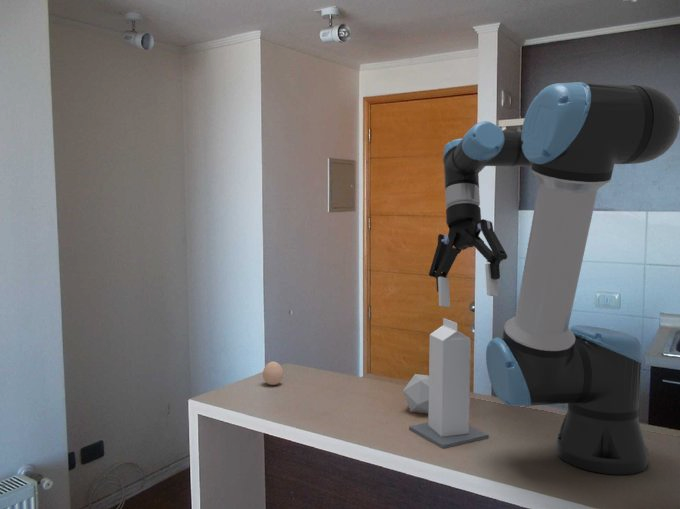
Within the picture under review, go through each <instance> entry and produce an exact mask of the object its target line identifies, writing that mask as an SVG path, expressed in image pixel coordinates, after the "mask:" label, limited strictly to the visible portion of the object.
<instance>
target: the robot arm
mask: <svg viewBox="0 0 680 509" xmlns="http://www.w3.org/2000/svg"><path fill="white" fill-rule="evenodd" d="M679 131H680V114H679V111H678V109H677V107H676V104H675V103H674V102H673V100H672V98H670V97H669V96H668V95H666V94H665V93H664V92H662V91H660V90H659V89H656V88H654V87H650V86H647V85H637V84H631V85H629V84H627V85H626V84H612V83H611V84H609V83H608V84H607V83H593V82H582V81H578V82H576V81H574V82H558V83H557V82H556V83H553V84H550V85H547V86H546V87H544V88H543V89H542V90H540V91H539V92H538V94H537V95H536V96H535V97H534V98H533V100H532V101H531V103H530V105H529V106H528V109H527V111H526V114H525V116H524V120H523V123H522V129H521V130H503V129H501V128H500V126H499V125H497V124H494V123H493V122H492V121H487V120H486V121H485V120H483V121H479V122H477V123H475V124H474V125H473V126H472V127H471V128H470V129H469V130H467V132H466V133H465V134H464V136H463V137H462V138H456V139H453V140H451V141H449V142H447V143H446V144H445V145H444V147H443V157H442V162H443V171H444V172H443V173H444V191H445V192H444V193H445V194H444V195H445V197H444V198H445V208H446V210H445V215H446V216H445V218H446V219H445V220H446V221H445V222H446V223H445V224H446V225H447V226H448V228H449V229H448V232H447V234H442V233H439V234H438V236H437V245H436V249H435V251H434V255H433V259H432V262H431V266H430V269H429V272H428V276H429V277H431V278H435V279H436V282H435V283H436V292H437V293H438V306H439V307H443V308H450V307H451V299H450V298H451V296H450V278H449V277H447V276H448V274H449V272H450V271H451V269H452V267H453V264H454V262H455V260H456V258H457V256H458V255H459V254H460V253H461V252H462V250H463V251H464V250H467V249H468V248H473V247H474V248H475V250H477V251H478V252H479V253H480V254H481V255H482V257H483V258H484V259H486V262H487V263H485V264H484V267H485V268H484V269H485V281H486V284H485V285H486V286H485V287H486V296H489V297H495V298H498V297H499V295H500V294H499V293H500V292H499V282H498V281H499V280H500V277H501V272H500V271H501V270H500V264H501V262H502V261H504V260H507V259H508V255H507V252H506V251H505V249H504V247H503V245H502V243H501V242H500V240H499V238H498V236H497V234H496V232H495V231H494V226H493V222H492V221H491V220H488V219H484V218H483V219H482V214H481V213H482V212H481V207H480V205H481V200H480V198H481V197H480V180H479V176H480V175H479V173H480V172H482V170H483V169H484V168H485V167H526V168H527V167H528V168H529V167H530V171H531V173H532V174H533V175H534V176H535V177H536V179H537V180H538V186H537V187H538V188H537V192H536V197H535V198H536V199H535V204H534V209H533V215H532V220H531V227H530V231H529V237H528V243H527V248H526V254H525V259H524V266H523V272H522V276H521V283H520V288H519V293H518V294H519V295H518V301H517V304H516V306H517V307H516V311H515V316H513V317H511V318H510V319H508V320H506V322H505V323H504V326H503V333H502V337H497V336H496V337H495V338H492V339H491V340H490V341H489V342H488V343H487V346H486V351H485V362H486V369H487V374H488V378H489V382H490V384H491V387H492V389H493V391H494V393H495V395H496V397H497V398H498V400H500V401H501V402H502V403H503V404H505V405H507V406H511V407H525V408H530V407H531V406H532V407H533V406H547V405H562V404H567V411H566V414H565V416H564V419H563V422H562V423H561V427H560V430H559V432H558V434H557V436H556V445H555V451H556V455H557V456H558V458H560V459H561V460H562V461H564V462H566V463H567V464H570V465H572V466H574V467H576V468H579V469H582V470H585V471H590V472H594V473H599V474H605V475H632V474H637V473H640V472H641V473H642V472H643V471H644V470H646V469H647V468H648V466H647V465H648V464H649V452H648V451H649V449H648V448H647V446H646V443H645V438H644V435H643V432H642V427H641V424H640V421H639V414H640V413H639V411H640V410H639V408H640V394H641V393H640V390H641V386H640V384H641V370H642V368H641V367H642V366H641V365H642V364H643V361H642V350H641V349H642V346H641V343H640V342H641V341H640V340H639V339H638V338H637V337H636V336H634V335H631V334H628V333H626V332H623V331H618V330H614V329H611V328H605V327H598V326H591V325H581V324H576V325H572V326H571V327H569V325H570V322H571V321H570V320H571V316H572V311H573V308H574V302H575V297H576V293H577V289H578V288H577V287H578V283H579V277H580V274H581V271H582V270H581V269H582V264H583V259H584V255H585V250H586V246H587V242H588V241H587V240H588V236H589V231H590V227H591V222H592V217H593V213H594V208H595V204H596V200H597V194H598V190H600V188H602V187H604V186H605V185H606V184H609V183H610V182H611V180H612V176H613V172H614V169H615V168H614V167H615V165H633V164H634V165H635V164H643V163H648V162H650V161H653V160H656V159H657V158H659V157H660V156H662V155H664V154H665V153H666V152H667V151H668V150H669V149H670V148H672V146H673V145H674V143H675V141H676V139H677V138H678V133H679ZM481 233H482V235H483V236H484V238H485V240H486V243H487V244H488V245H486V243H485V241H484V240H483V238H481V237H480V234H481ZM488 246H489V247H488ZM646 467H647V468H646Z"/></svg>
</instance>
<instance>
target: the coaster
mask: <svg viewBox="0 0 680 509" xmlns="http://www.w3.org/2000/svg"><path fill="white" fill-rule="evenodd" d="M408 429H409V430H410V431H411V432H413V433H415V434H417V435H419V436H420V437H422V438H424V439H426V440H428V441H429V442H431V443H433V444H435V445H437V446H438V447H440V448H442V449H447V448H450V447H454V446H459V445H463V444H468V443H471V442H477V441H480V440H485V439H488V438H489V434H488V433H486V432H484V431H481V430H479V429H477V428H475V427H473V426H472V425H469V434H463V435H454V436H446V437H441V436H440V435H438V434H437V433H436V432H435V431H433V430H432V429H431V428H430V427H429V426H428V422H424V423H419V424H414V425H409V427H408Z"/></svg>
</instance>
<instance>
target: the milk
mask: <svg viewBox="0 0 680 509" xmlns="http://www.w3.org/2000/svg"><path fill="white" fill-rule="evenodd" d="M471 342H472V339H471V338H470V337H468V336H467V335H465V334H464V333H462V332H461V331H458V323H457V322H456V321H453V320H450V319H447V318H445V317H443V319H442V325H441V326H439V327H438V328H437V329H435V330H434V331H433V332H431V333H429V348H428V349H429V350H428V351H429V354H428V356H429V357H428V360H429V362H428V363H429V364H428V376H429V414H427V415H428V416H427V417H428V418H427V419H428V420H427V423H428V426H429V427H430V428H431V429H432V430H433V431H435V432H436V433H437V434H438V435H440V436H441V437H446V436H454V435H463V434H469V426H470V400H471V399H470V398H471V397H470V393H471V392H470V391H471V389H470V388H471V348H472V346H471V345H472V343H471Z"/></svg>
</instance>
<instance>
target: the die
mask: <svg viewBox="0 0 680 509" xmlns="http://www.w3.org/2000/svg"><path fill="white" fill-rule="evenodd" d="M402 391H403V392H402V393H403V395H404V397H405V400H406V403H407V405H408V408H409V411H410V412H411V413H418V414H425V415H428V414H429V374H428V375H427V374H418V373H417V374H416V373H414V375H413V376H412V378H411V379H410V380H409V382H407V384H406V386H405V388H404V389H403V390H402Z"/></svg>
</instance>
